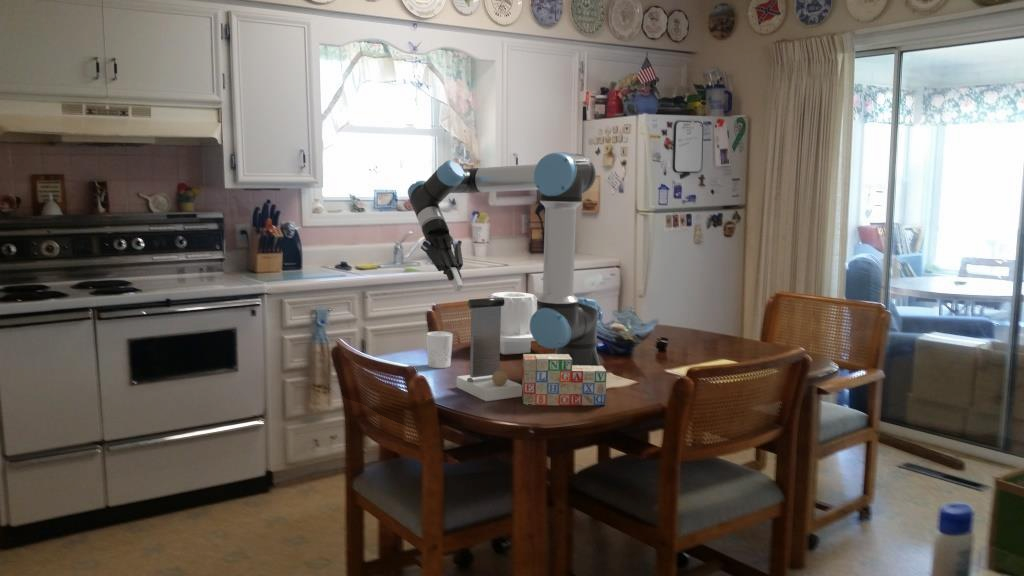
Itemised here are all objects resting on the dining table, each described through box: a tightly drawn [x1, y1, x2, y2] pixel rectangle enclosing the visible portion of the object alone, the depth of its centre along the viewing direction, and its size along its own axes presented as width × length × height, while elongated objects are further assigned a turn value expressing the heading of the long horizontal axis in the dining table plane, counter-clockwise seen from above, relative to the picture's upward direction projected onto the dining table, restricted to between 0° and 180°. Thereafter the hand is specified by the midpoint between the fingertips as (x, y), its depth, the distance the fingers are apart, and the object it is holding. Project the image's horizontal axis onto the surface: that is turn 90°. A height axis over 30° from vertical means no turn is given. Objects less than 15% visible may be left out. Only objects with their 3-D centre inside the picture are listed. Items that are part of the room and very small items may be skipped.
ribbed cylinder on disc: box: [487, 291, 538, 355], centre depth 275 cm, size 25×25×19 cm
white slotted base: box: [456, 369, 522, 402], centre depth 222 cm, size 16×11×7 cm
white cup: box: [426, 330, 453, 369], centre depth 251 cm, size 8×8×10 cm
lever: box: [467, 297, 505, 378], centre depth 223 cm, size 2×10×21 cm, turn 122°
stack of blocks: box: [521, 353, 607, 406], centre depth 214 cm, size 21×6×12 cm, turn 93°
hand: (459, 288), depth 234 cm, fingers closed
